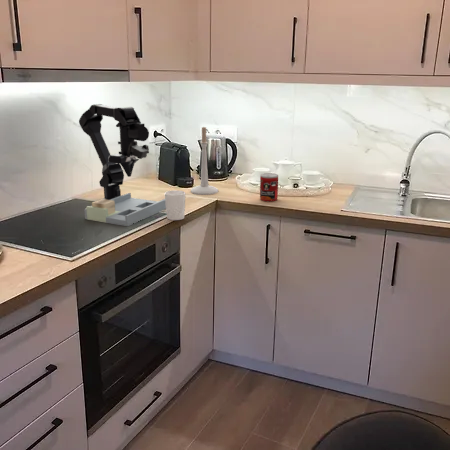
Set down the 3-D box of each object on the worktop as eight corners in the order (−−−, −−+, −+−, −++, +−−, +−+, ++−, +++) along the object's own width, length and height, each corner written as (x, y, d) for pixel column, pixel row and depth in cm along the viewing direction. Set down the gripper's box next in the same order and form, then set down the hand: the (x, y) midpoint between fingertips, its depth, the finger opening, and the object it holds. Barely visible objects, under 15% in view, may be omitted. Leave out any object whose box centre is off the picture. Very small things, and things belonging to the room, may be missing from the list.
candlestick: (219, 188, 242) (218, 124, 233) (217, 195, 230) (217, 128, 221) (192, 187, 243) (191, 124, 234) (189, 194, 231) (188, 127, 222)
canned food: (257, 200, 221) (258, 175, 218) (263, 196, 228) (263, 172, 225) (274, 202, 218) (275, 177, 215) (279, 198, 225) (280, 173, 222)
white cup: (180, 221, 192) (179, 196, 189) (161, 219, 194) (160, 194, 191) (189, 216, 199) (188, 191, 196) (170, 214, 201) (170, 189, 198)
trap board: (85, 219, 195) (84, 206, 193) (129, 201, 218) (128, 190, 217) (127, 226, 186) (127, 213, 185) (168, 207, 210) (168, 195, 209)
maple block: (92, 213, 194) (91, 202, 193) (102, 210, 199) (102, 198, 198) (105, 215, 192) (104, 204, 190) (115, 211, 197) (114, 200, 195)
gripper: (129, 143, 195) (131, 183, 200) (156, 137, 211) (158, 174, 216) (106, 141, 199) (109, 180, 204) (134, 135, 215) (136, 171, 220)
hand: (129, 176), depth 211 cm, fingers closed
